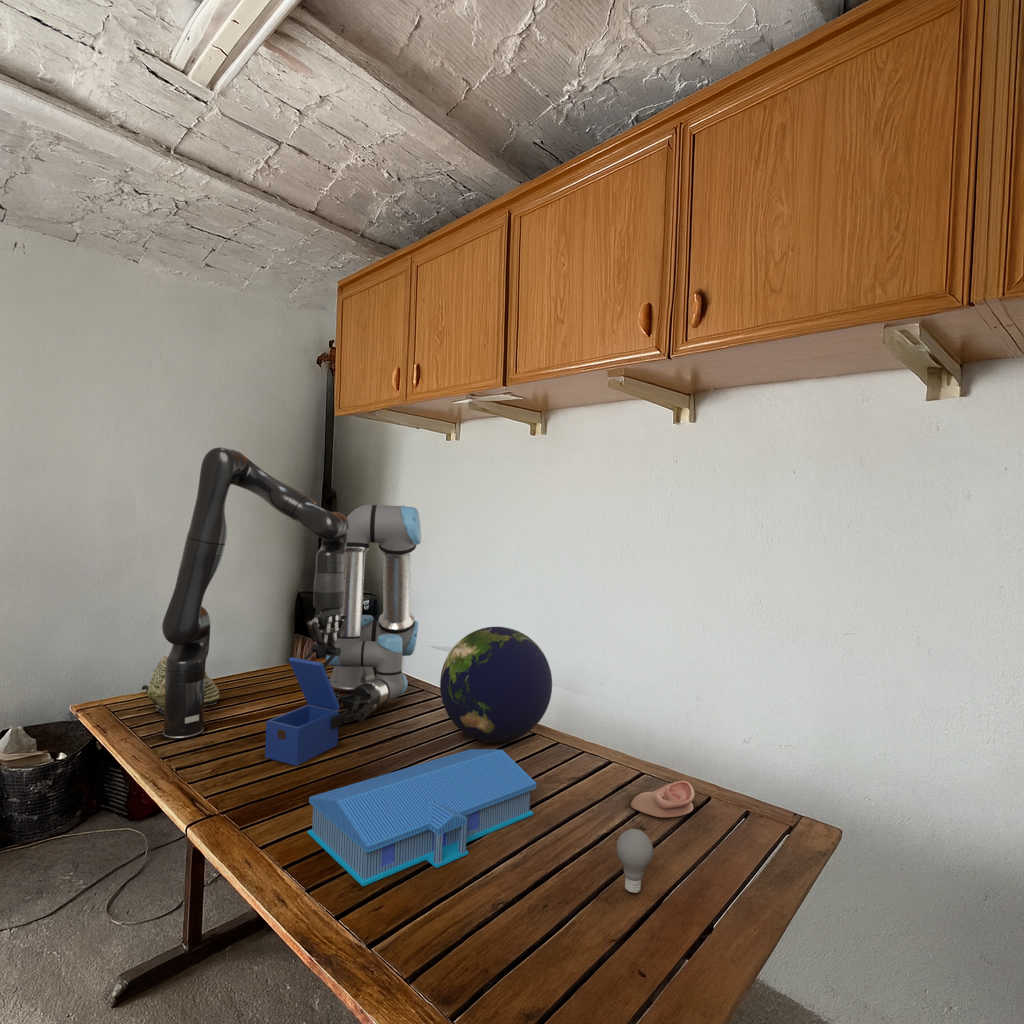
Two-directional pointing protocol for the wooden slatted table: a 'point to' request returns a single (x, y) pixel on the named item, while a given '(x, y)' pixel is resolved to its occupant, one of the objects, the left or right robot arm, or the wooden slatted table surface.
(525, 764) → the wooden slatted table surface
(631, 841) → the light bulb
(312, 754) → the chest
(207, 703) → the fossil
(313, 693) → the lid
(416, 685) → the wooden slatted table surface
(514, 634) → the globe
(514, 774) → the model building
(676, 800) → the anatomical model
